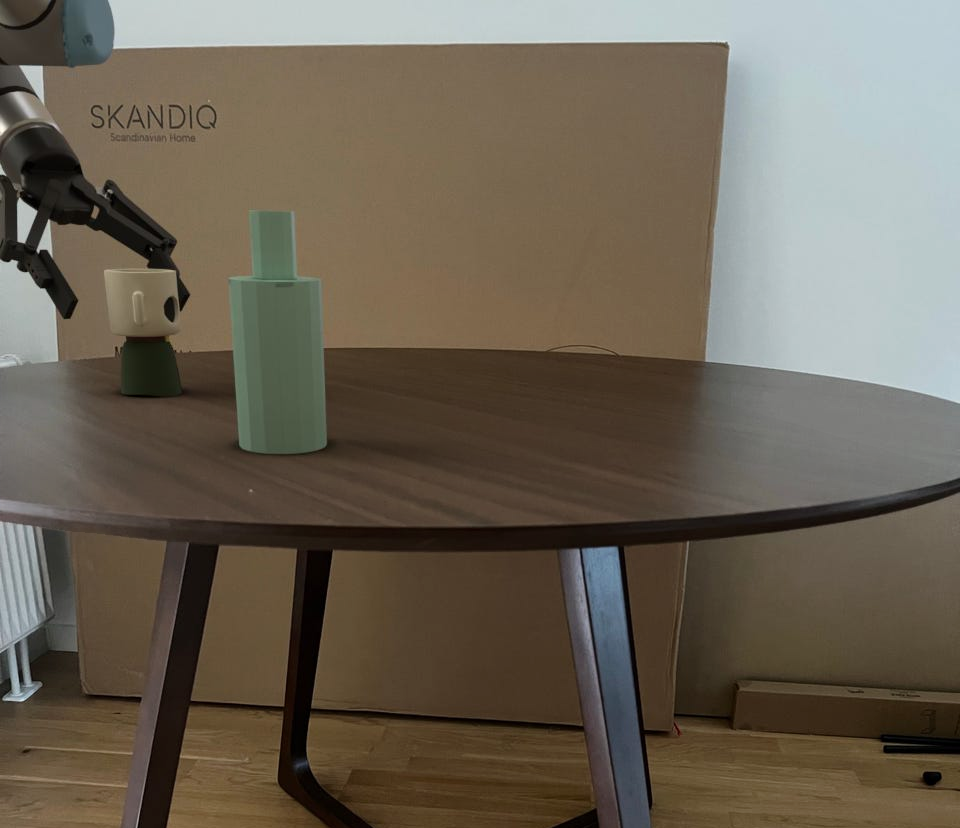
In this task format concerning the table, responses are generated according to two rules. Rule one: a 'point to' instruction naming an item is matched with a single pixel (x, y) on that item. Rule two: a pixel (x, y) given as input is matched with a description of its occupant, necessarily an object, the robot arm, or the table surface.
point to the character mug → (145, 328)
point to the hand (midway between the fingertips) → (129, 306)
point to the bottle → (278, 344)
